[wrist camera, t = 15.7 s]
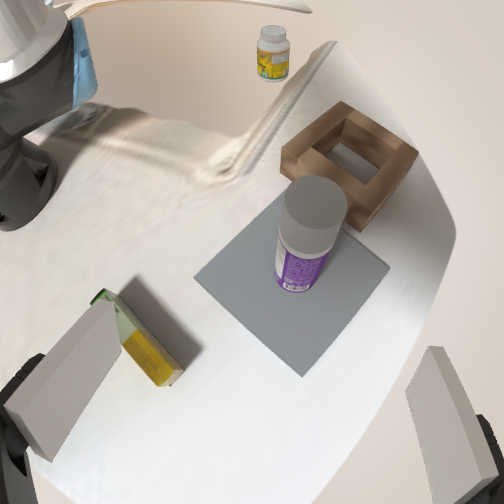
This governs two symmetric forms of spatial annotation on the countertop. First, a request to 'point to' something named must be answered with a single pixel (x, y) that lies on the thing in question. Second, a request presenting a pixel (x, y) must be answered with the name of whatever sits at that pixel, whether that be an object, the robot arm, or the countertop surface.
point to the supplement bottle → (273, 54)
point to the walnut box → (360, 141)
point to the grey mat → (285, 304)
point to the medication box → (142, 343)
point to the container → (307, 231)
